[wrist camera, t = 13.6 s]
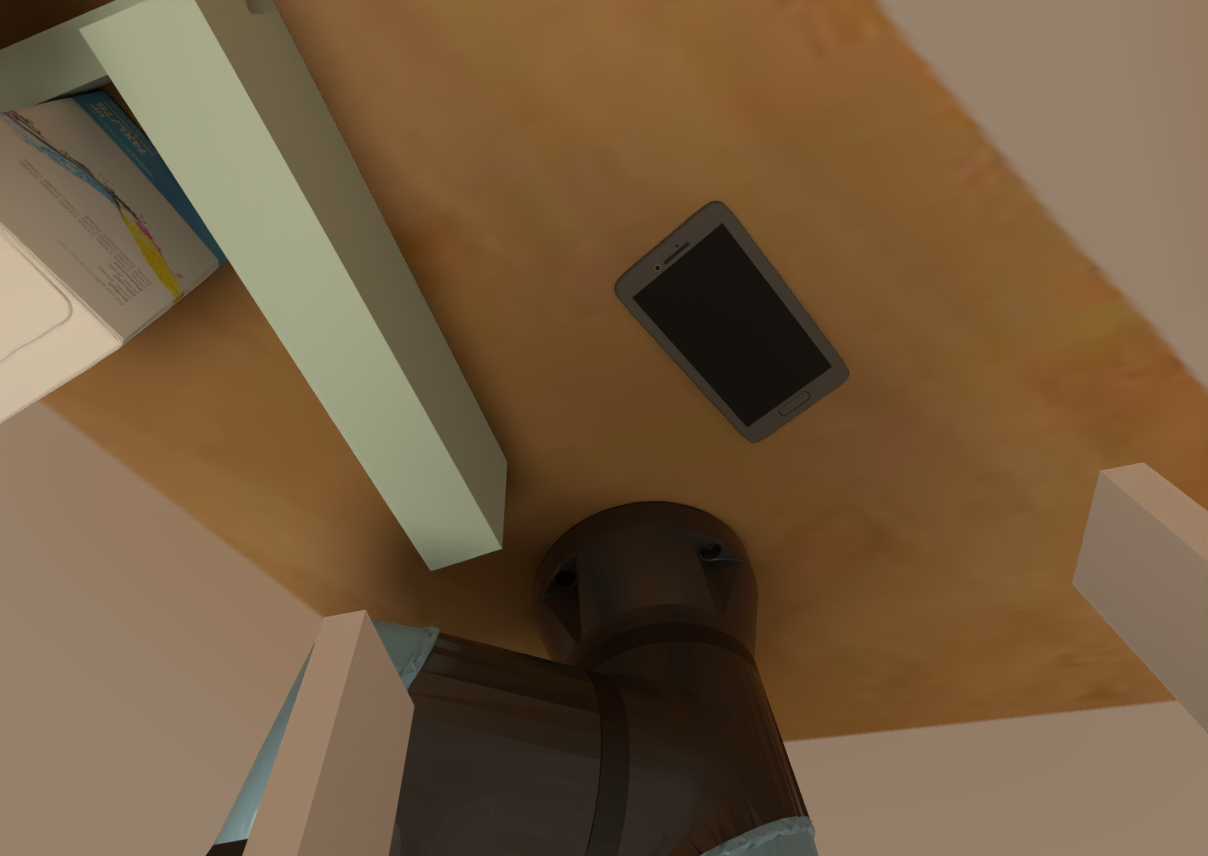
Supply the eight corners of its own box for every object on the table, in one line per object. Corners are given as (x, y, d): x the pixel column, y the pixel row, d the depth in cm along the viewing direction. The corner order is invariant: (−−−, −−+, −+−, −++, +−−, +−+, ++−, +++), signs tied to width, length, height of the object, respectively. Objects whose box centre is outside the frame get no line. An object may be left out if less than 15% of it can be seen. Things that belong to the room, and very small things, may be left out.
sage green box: (507, 461, 43) (502, 548, 36) (308, 527, 44) (267, 623, 38) (252, -41, 29) (165, -52, 22) (-26, 78, 30) (-188, 101, 24)
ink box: (104, 84, 31) (-99, 125, 21) (245, 249, 35) (130, 348, 25) (-33, 184, 33) (-281, 265, 23) (117, 330, 37) (-37, 453, 27)
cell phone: (750, 442, 44) (753, 448, 44) (607, 284, 38) (608, 289, 37) (850, 371, 42) (855, 376, 41) (716, 191, 36) (719, 195, 35)
